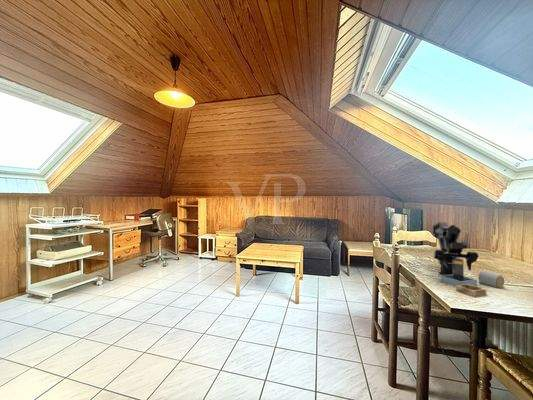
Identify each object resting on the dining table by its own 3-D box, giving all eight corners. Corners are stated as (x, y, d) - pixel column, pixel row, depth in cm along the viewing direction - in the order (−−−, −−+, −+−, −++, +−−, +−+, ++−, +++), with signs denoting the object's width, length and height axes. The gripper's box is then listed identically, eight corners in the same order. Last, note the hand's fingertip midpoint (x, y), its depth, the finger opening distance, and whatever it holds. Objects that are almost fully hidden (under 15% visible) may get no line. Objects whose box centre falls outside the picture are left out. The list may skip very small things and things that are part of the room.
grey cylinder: (497, 290, 116) (497, 275, 116) (477, 285, 123) (477, 270, 123) (508, 287, 120) (508, 272, 120) (488, 282, 127) (488, 268, 127)
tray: (441, 282, 127) (440, 275, 127) (455, 281, 129) (455, 273, 130) (461, 289, 117) (461, 281, 117) (476, 287, 119) (476, 280, 119)
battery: (450, 282, 125) (450, 257, 125) (457, 281, 126) (456, 256, 126) (459, 285, 120) (459, 259, 121) (466, 284, 121) (465, 258, 122)
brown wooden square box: (454, 292, 114) (453, 285, 114) (467, 290, 116) (467, 283, 116) (474, 299, 105) (474, 291, 105) (488, 297, 107) (488, 289, 107)
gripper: (434, 235, 131) (440, 259, 121) (476, 237, 123) (486, 262, 113) (431, 246, 138) (436, 270, 128) (471, 249, 130) (479, 274, 120)
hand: (459, 269), depth 122 cm, fingers open, 9 cm apart
